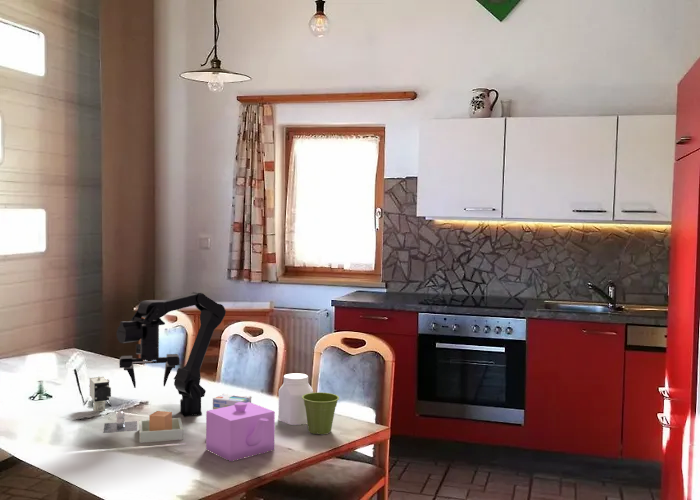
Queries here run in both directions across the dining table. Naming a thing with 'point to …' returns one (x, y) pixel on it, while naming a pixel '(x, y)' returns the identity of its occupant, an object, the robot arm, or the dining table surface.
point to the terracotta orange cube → (160, 421)
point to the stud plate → (114, 427)
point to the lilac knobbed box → (240, 430)
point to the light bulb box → (228, 400)
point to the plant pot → (320, 411)
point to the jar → (293, 399)
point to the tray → (160, 432)
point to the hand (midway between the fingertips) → (149, 386)
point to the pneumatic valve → (99, 392)
